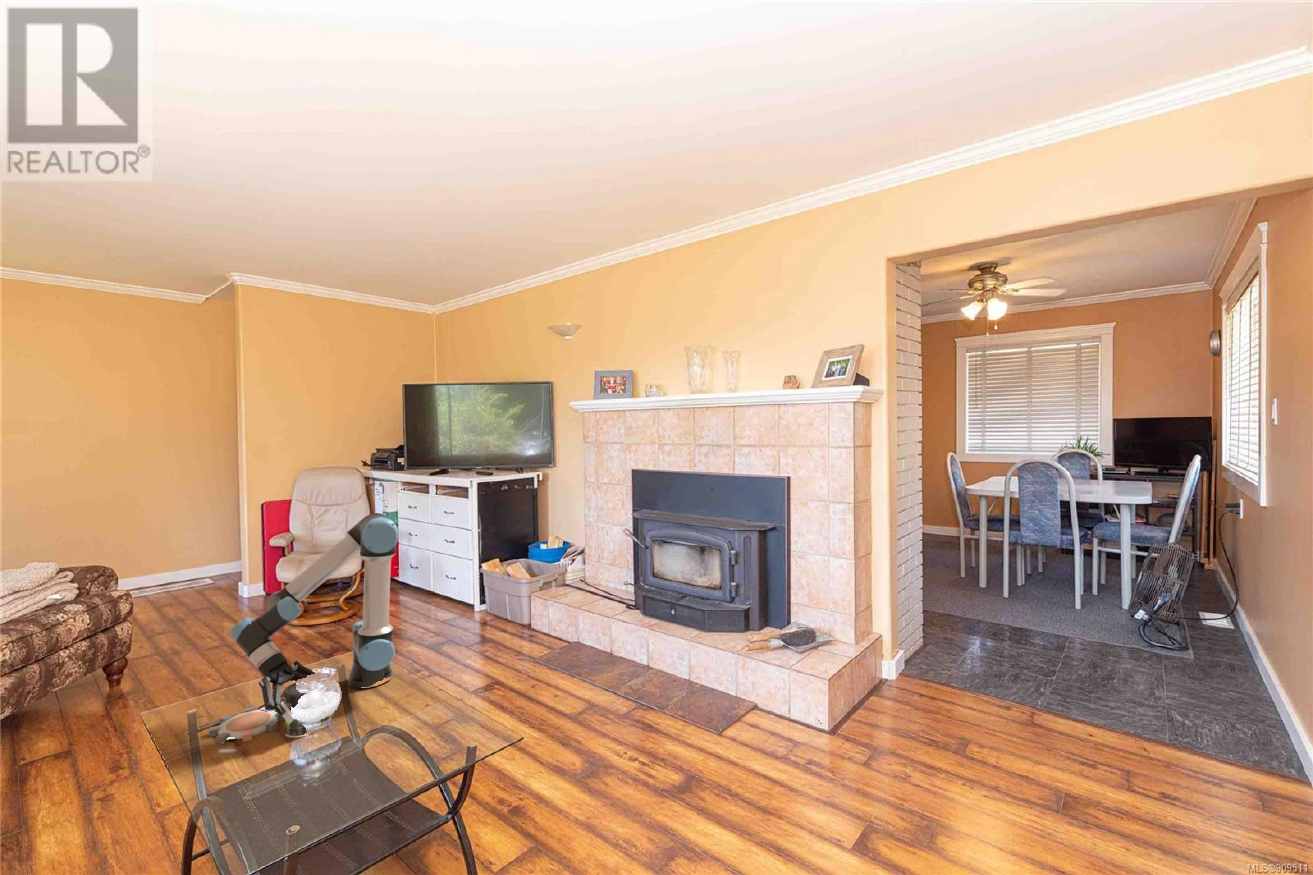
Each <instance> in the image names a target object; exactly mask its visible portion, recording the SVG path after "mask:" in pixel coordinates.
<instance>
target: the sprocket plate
mask: <svg viewBox="0 0 1313 875" xmlns="http://www.w3.org/2000/svg"><path fill="white" fill-rule="evenodd" d="M254 709H255V706H253V705H252V706H249V707H245V710H244V712H242V713H238V714H236V715H234V716H233V715H227V714H225V715H223V716H221V717H220V718H219V725H216V726H210V727H209V728H208V729H209V730H208V735H209V736H208V737H209V738H212V737H216V738H215V739H216V744H221V743H223V742H225V740H226V739H227V738H228V737H235V738H236V739H237V740H242V743H244V742H248V741H252V740H253V737H254V736H258V735H260V734H262V733H265V732H269V733H270V732H274V731H276V730H277V729H278V728H279V722H278V721H277V720H280V721H283V720H284V721H285V719H284V717H283V716H280V715H279V714H278V713H277V712H275V709H274V710H271V709H268V710H269V711H267V712H261V711H260V710H266V709H255V710H254ZM225 743H226V742H225ZM223 744H224V743H223Z"/></svg>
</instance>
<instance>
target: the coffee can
mask: <svg viewBox="0 0 1313 875" xmlns="http://www.w3.org/2000/svg"><path fill="white" fill-rule="evenodd" d="M296 683H297V682H294V683H292V684H290V685H288V686H287V687H285V688H284V691H283V693H284V703H285V705H286V706H287V707H288V708H289V710H290V711H291V707H293V708H294V707H295V706H296V705H297V704H298V700H299V699H300V698H301V696H303V695H304V694H306V693H300V692H298V690H296ZM284 724H285V725H284V727H285V728H284V729H285V732H284V735H285V736H286V737H287V738H289V739H299V738H298V737H300V736H302V735H304V734H305V733H307V732H308V730H306V728H305V727H304V726H303V725H302V723H299V722H298V720H297V719H294V720H293V721H292V722H291V723H290V724H288V722H287V721H286V720H285V719H284ZM307 729H308V728H307Z"/></svg>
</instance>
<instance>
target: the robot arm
mask: <svg viewBox="0 0 1313 875" xmlns="http://www.w3.org/2000/svg"><path fill="white" fill-rule="evenodd" d="M399 533H400V532H399V529H398V527H397V525H396V523H394V521H393V520H391V519H390V518H389V517H388V516H387V515H385V514H383V513H378V512H377V513H376V512H375V513H374V512H373V513H370V514H368V515H366V516H364V517H363V518H362V519H361V520H359V521H358V522H357V523H356V524H355V525H354V526H352V527H351V528H350V529H349V530H347V532H346V533H345V534H346V535H345V537H344V538H342V539H341V540H340V541H339V542H337V543H336V544H335V545H334V546H333V547H331V548H330V549H329V550H328V551H327V552H325V553H324V554H323V555H322V556H320V557H319V558H318V559H317V560H315V561H314V562H313V563H312V564H311V565H309V566H308V567H307V568H306V569H305V570H304V571H302V572H301V573H299V575H297V576H296V577H294V578H293V579H292V580H291V581H290V582H288V584H286V586H284V587H283V588H282V589H280V590H279V591H275V592H274V593H272V594H270V596H269V598H268V599H267V601H266V611H265V612H264V613H262V614H261V615H260V616H257V618H254V617H252V616H251V617H249V616H248V617H246V618H244V619H243V620H241V621H238V622H237V623H236V624H235V625H234V626H232V628H231V629H230V635H231V637H232V638H233V640H234V641H235V644H237V646H239V648H240V649H241V650H242V652H244V654H245V655H246V656H247V657H248V659H249V661H251V662H252V664H253V666H255V667H256V668H257V670H258V671H259V673H260V674H261V675H262V676H263V678H261V680H260V681H258V686H259V687H260V689H261V692H262V698H263V699H262V700H263V703H264V708H265V709H266V710H268V709H271V710H274V709H275V710H276V712H277V713H278V714H279V715H280V716H283V717H284V721H285V720H286V721H287V722H288V724H290V723H291V722H292V721H293V720H294V719H295V718H296V717H295V716H294V715H293V713H292V712H291V711H290V710H289V708H288V707H287V706H286V705H285V701H281V693H282V692H281V691H282V686H283V685H284V684H286V683H288V682H297V680H298V679H302V678H306V677H307V675H311V674H315V673H316V671H314V670H312V669H310V668H308V667H306V666H304V665H302V664H301V663H300V662H299V661H298V660H295V661H294V662H293V663H292V664H291V665H290V664H289V663H288V659H287V658H286V656H285V655H284V654H283V653H282V652H280V649H279V648H278V647H277V645H276V644H275V643H274V642H273V641H272V640H271V637H272V636H274V635H276V633H278V632H279V631H280V630H282V629H283V628H284V627H286V626H287V625H288V624H290V623H291V622H292V621H294V620H295V619H297V617H298V616H300V615H301V614H302V608H301V605H299V603H301V602H302V601H303V600H304V599H305V598H307V597H308V596H309V595H310V594H311V593H312V592H314V591H315V590H316V589H317V588H318V587H320V586H321V585H322V584H323V583H324V582H326V581H327V580H329V578H331V577H332V576H334V574H336V572H337V571H338V570H340V569H341V568H342V567H344V566H345V565H346V564H348V562H350V561H351V560H352V559H353V558H355V557H356V555H358V554H360V555H359V556H360V557H361V558H362V559H363V560H364V572H363V573H364V574H363V576H364V577H363V601H362V602H363V603H362V606H363V609H362V620H360V621H356V622H355V623H354V624H353V625H352V631H351V633H352V660H353V661H352V665H351V669H350V672H349V675H348V678H347V679H348V683H347V684H348V686H349V687H350V688H352V689H357V690H360V689H359V688H361V687H369V686H371V685H373V684H375V683H376V682H378V681H382V680H383V679H384V678H388V677H391V676H392V677H393V669H392V666H391V664H390V663H391V662H392V661H393V659H394V658H395V653H396V652H395V651H396V649H395V646H394V645H395V644H394V643H393V642H394V626H393V625H392V624H390V598H391V597H390V596H391V574H392V573H391V570H392V569H391V567H392V558H393V557H394V556H395V555H396V552H397V543H398V541H399V536H400V534H399ZM271 683H272V686H271Z"/></svg>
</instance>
